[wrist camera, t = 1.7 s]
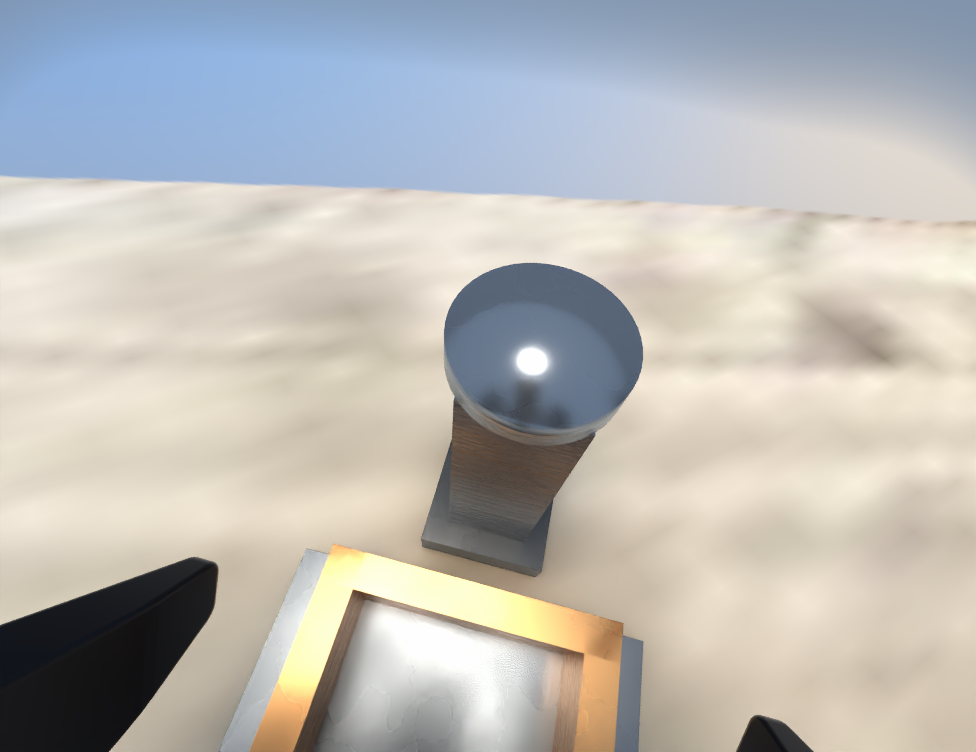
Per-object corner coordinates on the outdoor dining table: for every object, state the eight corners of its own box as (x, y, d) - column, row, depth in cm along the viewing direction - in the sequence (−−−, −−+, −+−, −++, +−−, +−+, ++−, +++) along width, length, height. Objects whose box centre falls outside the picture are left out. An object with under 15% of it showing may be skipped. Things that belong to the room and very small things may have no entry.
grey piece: (535, 577, 20) (651, 467, 9) (422, 546, 20) (397, 403, 9) (553, 469, 22) (660, 280, 11) (453, 443, 23) (464, 235, 12)
